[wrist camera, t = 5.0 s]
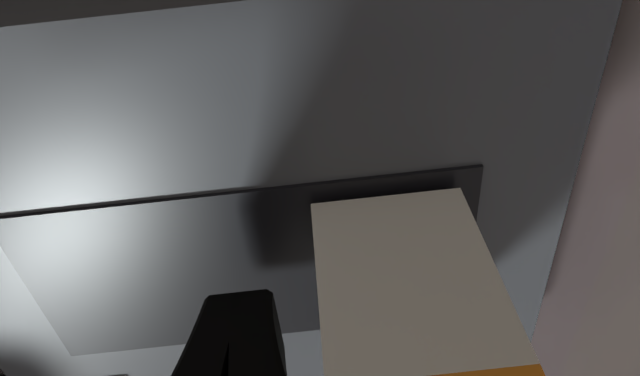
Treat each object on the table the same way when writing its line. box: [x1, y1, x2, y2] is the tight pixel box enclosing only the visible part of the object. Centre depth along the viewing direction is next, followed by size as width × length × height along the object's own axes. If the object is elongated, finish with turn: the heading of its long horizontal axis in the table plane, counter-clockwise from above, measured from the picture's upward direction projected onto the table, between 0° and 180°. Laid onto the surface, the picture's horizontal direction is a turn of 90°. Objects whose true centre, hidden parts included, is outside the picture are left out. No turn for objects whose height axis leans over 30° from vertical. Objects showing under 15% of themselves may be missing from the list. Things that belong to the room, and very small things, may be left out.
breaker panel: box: [0, 0, 623, 376], centre depth 13 cm, size 14×12×2 cm
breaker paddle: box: [311, 188, 545, 376], centre depth 10 cm, size 3×4×4 cm
